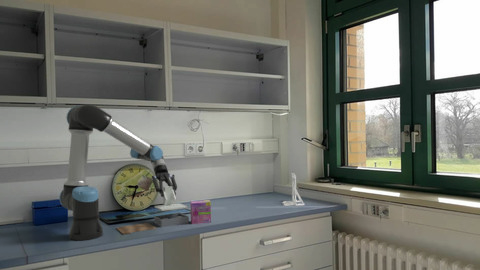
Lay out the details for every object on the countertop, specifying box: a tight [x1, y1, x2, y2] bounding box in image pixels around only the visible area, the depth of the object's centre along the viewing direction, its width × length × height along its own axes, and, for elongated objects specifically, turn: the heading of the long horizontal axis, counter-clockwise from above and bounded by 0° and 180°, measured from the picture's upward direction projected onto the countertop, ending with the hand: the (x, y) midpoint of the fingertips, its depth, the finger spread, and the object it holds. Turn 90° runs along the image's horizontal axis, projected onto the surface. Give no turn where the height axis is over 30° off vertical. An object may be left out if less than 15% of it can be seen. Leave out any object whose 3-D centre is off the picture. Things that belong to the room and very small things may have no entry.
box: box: [190, 199, 212, 225], centre depth 205 cm, size 10×6×12 cm, turn 105°
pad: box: [115, 222, 158, 235], centre depth 195 cm, size 17×14×1 cm
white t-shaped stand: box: [154, 185, 189, 212], centre depth 205 cm, size 15×12×11 cm
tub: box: [153, 212, 190, 228], centre depth 205 cm, size 15×12×4 cm
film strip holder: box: [282, 172, 306, 207], centre depth 254 cm, size 14×14×20 cm
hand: (170, 200), depth 206 cm, fingers closed on white t-shaped stand, 4 cm apart
